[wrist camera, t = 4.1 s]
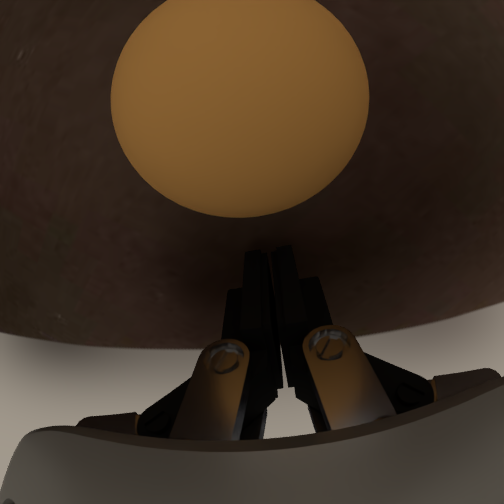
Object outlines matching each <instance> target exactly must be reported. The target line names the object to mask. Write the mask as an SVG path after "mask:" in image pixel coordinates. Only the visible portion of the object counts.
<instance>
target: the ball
mask: <svg viewBox="0 0 504 504" xmlns="http://www.w3.org/2000/svg"><path fill="white" fill-rule="evenodd" d="M368 109H369V85H368V78H367V73H366V69H365V65H364V62H363V60H362V57H361V54H360V52H359V50H358V48H357V46H356V44H355V42H354V40H353V39H352V37H351V35H350V34H349V33H348V31H347V30H346V29H345V27H344V26H343V25H342V23H341V22H340V21H339V20H338V19H337V18H336V17H335V16H334V15H333V14H332V13H331V12H330V11H328V10H327V9H326V8H325V7H323V6H322V5H321V4H319V3H318V2H317V1H315V0H167V1H166V2H164V3H163V4H162V5H160V6H159V7H158V8H156V9H155V10H154V11H152V12H151V13H150V14H149V15H148V16H147V17H146V18H145V19H144V20H143V21H142V22H141V23H140V25H139V26H138V27H137V28H136V30H135V31H134V32H133V33H132V35H131V36H130V38H129V40H128V41H127V43H126V45H125V46H124V48H123V50H122V52H121V55H120V57H119V59H118V62H117V65H116V68H115V72H114V76H113V81H112V88H111V112H112V119H113V124H114V128H115V131H116V135H117V138H118V140H119V142H120V145H121V147H122V149H123V151H124V153H125V155H126V156H127V158H128V160H129V161H130V163H131V164H132V166H133V167H134V168H135V169H136V171H137V172H138V173H139V174H140V176H141V177H142V178H143V179H144V180H145V181H146V182H147V183H149V184H150V185H151V186H152V187H153V188H154V189H155V190H157V191H158V192H159V193H161V194H162V195H164V196H165V197H166V198H168V199H170V200H172V201H174V202H176V203H177V204H179V205H181V206H184V207H186V208H189V209H191V210H194V211H197V212H201V213H205V214H208V215H214V216H220V217H232V218H246V217H258V216H263V215H268V214H273V213H276V212H279V211H282V210H285V209H288V208H291V207H293V206H295V205H297V204H300V203H302V202H304V201H306V200H307V199H309V198H310V197H312V196H314V195H315V194H317V193H318V192H320V191H321V190H322V189H323V188H325V187H326V186H327V185H328V184H330V183H331V182H332V181H333V180H334V179H335V178H336V177H337V175H338V174H339V173H340V172H341V171H342V170H343V169H344V167H345V166H346V165H347V163H348V162H349V161H350V159H351V158H352V156H353V154H354V152H355V150H356V149H357V147H358V145H359V143H360V140H361V137H362V135H363V132H364V129H365V125H366V121H367V116H368Z"/></svg>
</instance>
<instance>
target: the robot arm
mask: <svg viewBox="0 0 504 504" xmlns="http://www.w3.org/2000/svg"><path fill="white" fill-rule="evenodd" d="M276 249H277V251H274V252H271V257H272V268H273V279H274V291H275V296H274V291H273V285H272V280H271V274H270V269H269V263H268V258H267V253H261V251H260V250H255V251H249V252H245V260H244V274H243V288H237V289H230V290H228V293H227V300H226V308H225V315H224V323H223V330H222V338H221V340H219V341H216V342H213V343H212V344H210V345H208V346H207V347H206V348H205V349H204V350H203V351H202V352H201V354H200V356H199V358H198V361H197V363H196V366H195V369H194V371H193V374H192V377H191V378H189V379H188V380H187V381H185V382H184V383H182V384H181V385H180V386H179V387H177V388H176V389H174V390H173V391H172V392H170V393H169V394H167V395H166V396H164V397H163V398H162V399H160V400H159V401H158V402H156V403H155V404H153V405H152V406H150V407H149V408H147V409H146V410H145V411H144V412H143V413H142V414H141V415H138V414H137V413H136V412H132V413H124V414H116V415H115V414H114V415H103V416H90V417H86V418H84V419H82V420H81V421H79V423H78V424H77V425H76V426H50V427H44V428H40V429H36V430H34V431H31V432H29V433H28V434H26V435H25V436H24V437H23V438H22V440H21V441H20V442H19V444H18V446H17V448H16V450H15V452H14V454H13V456H12V458H11V461H10V463H9V466H8V468H7V472H6V475H5V477H4V481H3V484H2V487H1V491H0V504H504V377H501V376H500V374H499V373H497V372H496V371H495V370H493V369H490V368H483V369H477V370H472V371H467V372H460V373H453V374H446V375H439V376H434V377H433V379H432V380H426V379H425V378H423V377H421V376H419V375H417V374H414V373H412V372H410V371H407V370H405V369H402V368H400V367H397V366H395V365H393V364H390V363H388V362H385V361H383V360H381V359H379V358H376V357H374V356H372V355H369V354H367V353H364V352H363V351H362V349H361V347H360V345H359V343H358V342H357V340H356V338H355V336H354V335H353V334H352V333H351V332H350V331H349V330H347V329H346V328H344V327H341V326H337V325H333V323H332V320H331V317H330V313H329V310H328V307H327V303H326V300H325V297H324V294H323V290H322V287H321V284H320V281H319V278H318V277H311V278H304V279H299V278H298V274H297V269H296V264H295V260H294V256H293V251H292V247H291V245H287V246H281V247H276ZM280 343H281V348H282V354H283V359H284V365H285V371H286V377H287V382H288V387H295V394H296V398H298V399H299V400H301V401H303V402H304V403H306V404H308V410H309V413H310V416H311V420H312V423H313V426H314V429H315V432H316V433H313V434H307V435H299V436H291V437H282V438H271V439H263V436H264V430H265V424H266V418H267V407H268V406H269V405H270V404H271V403H272V402H274V400H275V398H278V391H277V389H281V388H283V376H282V362H281V351H280Z"/></svg>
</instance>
